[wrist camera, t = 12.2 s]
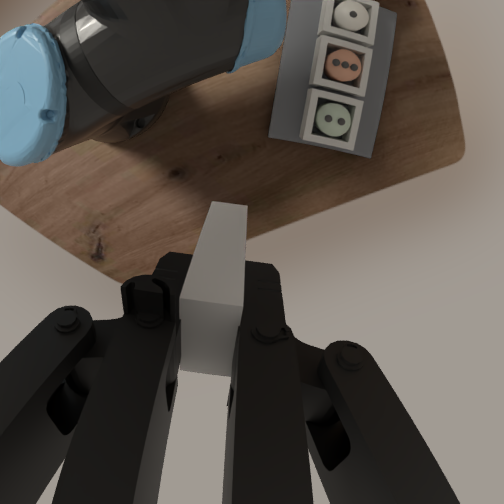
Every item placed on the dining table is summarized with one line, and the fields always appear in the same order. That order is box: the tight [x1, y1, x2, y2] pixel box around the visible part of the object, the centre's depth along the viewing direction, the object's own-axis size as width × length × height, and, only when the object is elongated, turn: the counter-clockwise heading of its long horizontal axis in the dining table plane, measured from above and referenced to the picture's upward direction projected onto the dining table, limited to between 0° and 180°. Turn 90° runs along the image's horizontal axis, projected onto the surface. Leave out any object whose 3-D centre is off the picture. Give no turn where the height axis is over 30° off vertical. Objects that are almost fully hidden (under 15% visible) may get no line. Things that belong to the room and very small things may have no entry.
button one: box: [331, 0, 369, 32], centre depth 27 cm, size 4×4×3 cm
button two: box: [314, 103, 351, 136], centre depth 33 cm, size 4×4×3 cm
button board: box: [268, 0, 397, 159], centre depth 31 cm, size 14×22×4 cm, turn 172°
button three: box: [323, 49, 361, 82], centre depth 30 cm, size 4×4×3 cm
